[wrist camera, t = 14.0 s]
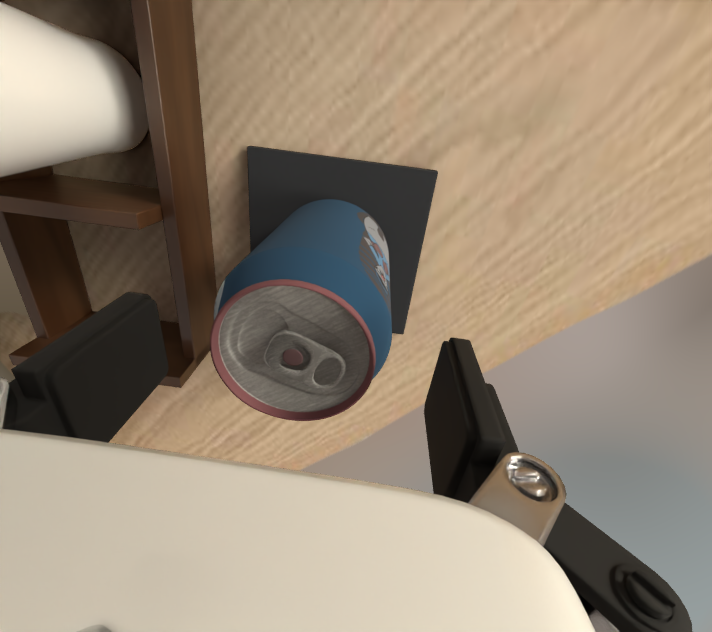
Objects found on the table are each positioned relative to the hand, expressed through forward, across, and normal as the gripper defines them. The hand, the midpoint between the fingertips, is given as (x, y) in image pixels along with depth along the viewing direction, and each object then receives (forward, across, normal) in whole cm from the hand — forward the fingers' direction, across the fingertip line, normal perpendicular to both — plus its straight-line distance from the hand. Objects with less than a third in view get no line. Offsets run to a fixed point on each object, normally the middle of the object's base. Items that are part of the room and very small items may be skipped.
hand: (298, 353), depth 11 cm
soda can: (+12, 0, +1) cm, 13 cm away
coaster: (+13, 0, +1) cm, 13 cm away
